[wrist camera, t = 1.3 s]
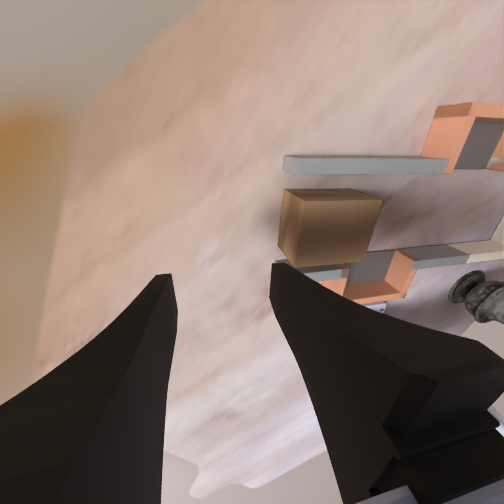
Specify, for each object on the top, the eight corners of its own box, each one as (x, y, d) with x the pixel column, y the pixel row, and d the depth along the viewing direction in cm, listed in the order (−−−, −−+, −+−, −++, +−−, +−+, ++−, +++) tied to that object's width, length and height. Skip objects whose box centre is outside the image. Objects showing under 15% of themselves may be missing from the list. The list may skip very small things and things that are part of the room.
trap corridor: (476, 272, 28) (499, 283, 26) (271, 299, 22) (279, 317, 20) (569, 115, 20) (614, 113, 18) (288, 96, 14) (305, 89, 12)
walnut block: (335, 241, 21) (363, 261, 18) (277, 244, 20) (294, 267, 16) (348, 188, 19) (382, 199, 15) (282, 188, 17) (304, 201, 14)
